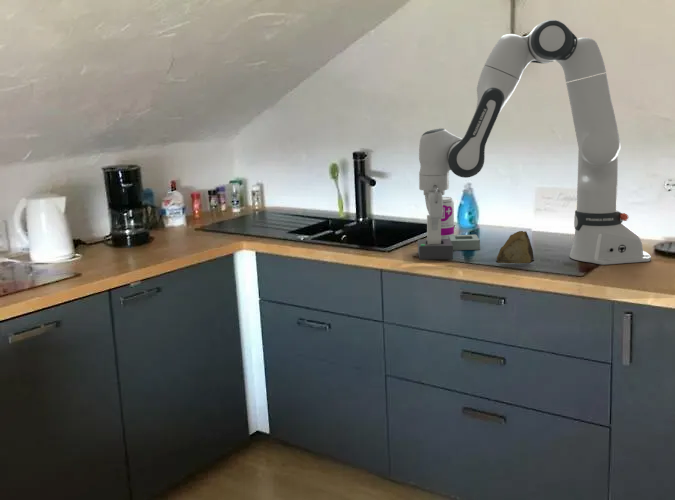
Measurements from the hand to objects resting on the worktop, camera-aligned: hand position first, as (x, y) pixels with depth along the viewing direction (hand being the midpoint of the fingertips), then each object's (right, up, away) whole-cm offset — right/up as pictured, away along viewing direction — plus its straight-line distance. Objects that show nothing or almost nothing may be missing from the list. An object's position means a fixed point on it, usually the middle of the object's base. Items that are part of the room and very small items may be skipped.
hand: (434, 228), depth 220 cm
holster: (+11, -7, +12) cm, 18 cm away
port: (0, -9, +2) cm, 9 cm away
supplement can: (+6, -4, +25) cm, 26 cm away
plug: (0, -5, +1) cm, 5 cm away
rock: (+23, -10, -6) cm, 26 cm away
